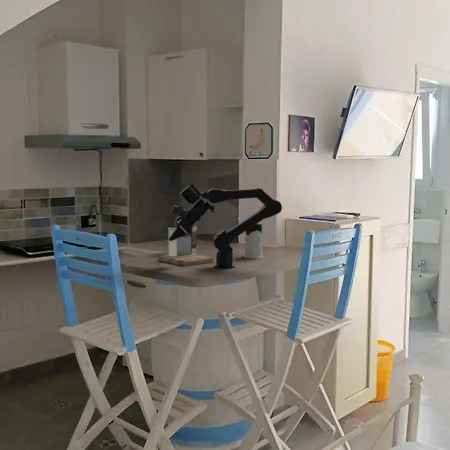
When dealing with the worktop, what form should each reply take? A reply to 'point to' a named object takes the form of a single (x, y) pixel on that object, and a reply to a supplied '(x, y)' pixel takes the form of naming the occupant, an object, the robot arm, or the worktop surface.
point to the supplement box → (193, 238)
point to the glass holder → (253, 242)
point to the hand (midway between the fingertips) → (169, 239)
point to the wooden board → (187, 259)
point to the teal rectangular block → (172, 244)
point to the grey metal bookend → (183, 246)
